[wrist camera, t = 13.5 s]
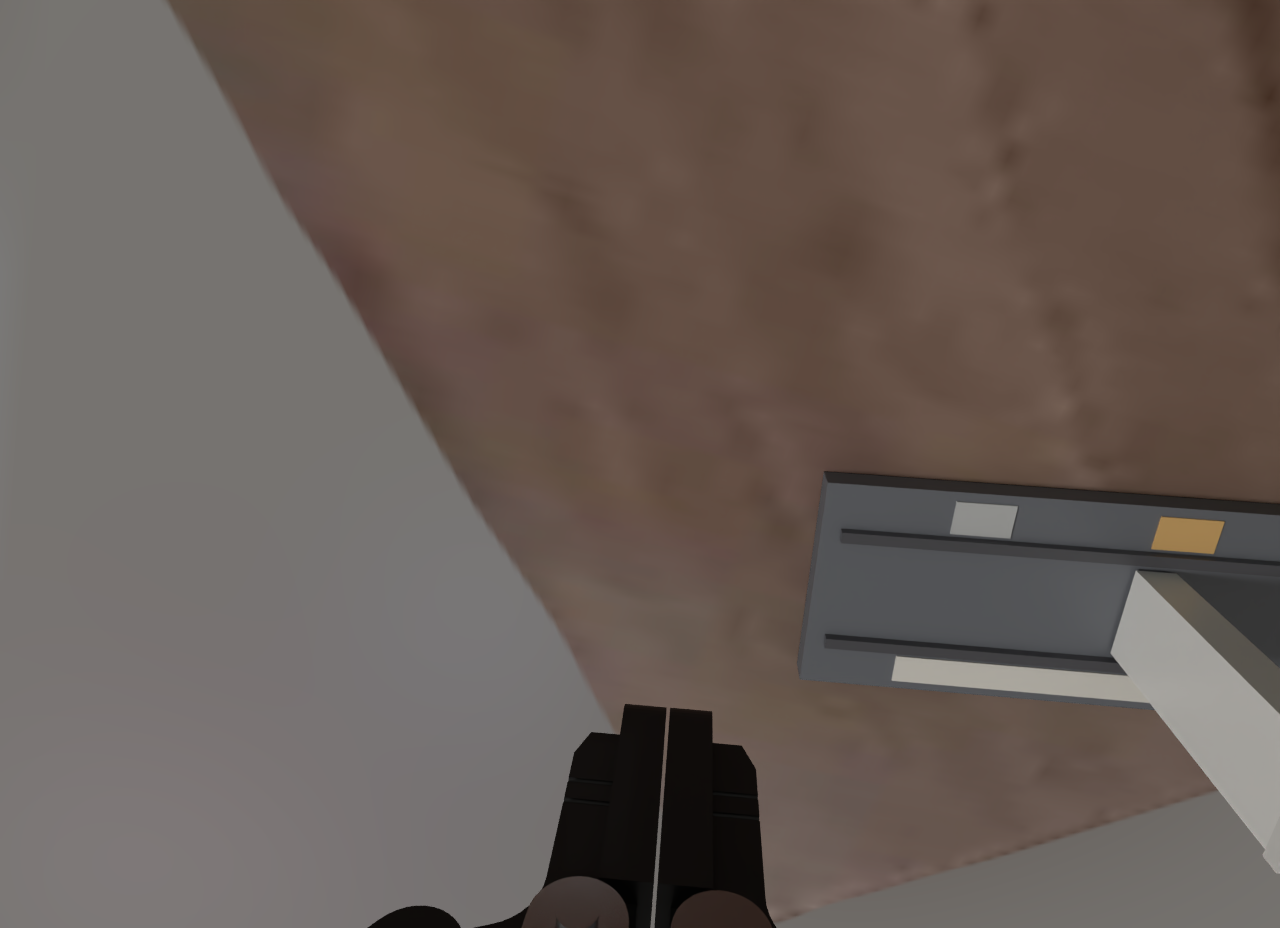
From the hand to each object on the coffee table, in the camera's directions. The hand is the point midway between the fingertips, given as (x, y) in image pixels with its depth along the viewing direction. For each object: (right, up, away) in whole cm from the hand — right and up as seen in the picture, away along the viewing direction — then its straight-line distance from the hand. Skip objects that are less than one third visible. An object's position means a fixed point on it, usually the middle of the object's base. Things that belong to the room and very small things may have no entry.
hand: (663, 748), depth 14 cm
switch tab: (+26, -3, +28) cm, 38 cm away
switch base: (+22, -2, +30) cm, 37 cm away
